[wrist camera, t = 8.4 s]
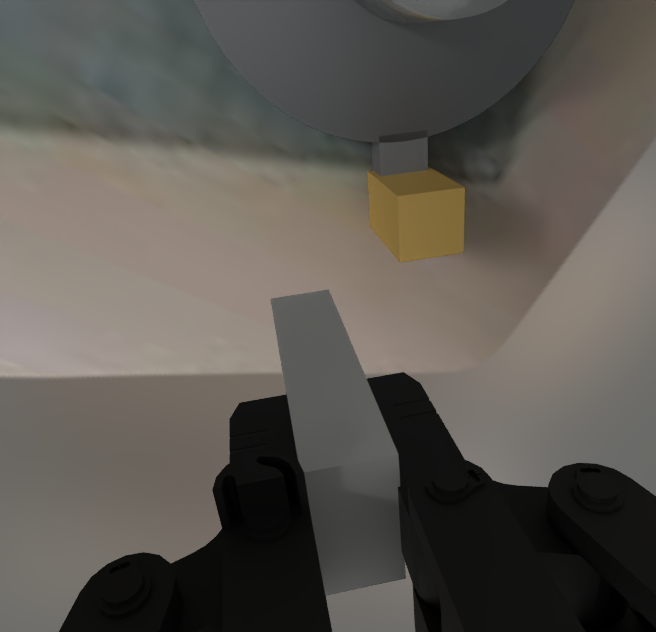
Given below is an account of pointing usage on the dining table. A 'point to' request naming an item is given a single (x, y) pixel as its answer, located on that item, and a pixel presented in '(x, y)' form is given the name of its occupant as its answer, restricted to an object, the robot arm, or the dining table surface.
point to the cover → (426, 9)
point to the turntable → (387, 91)
